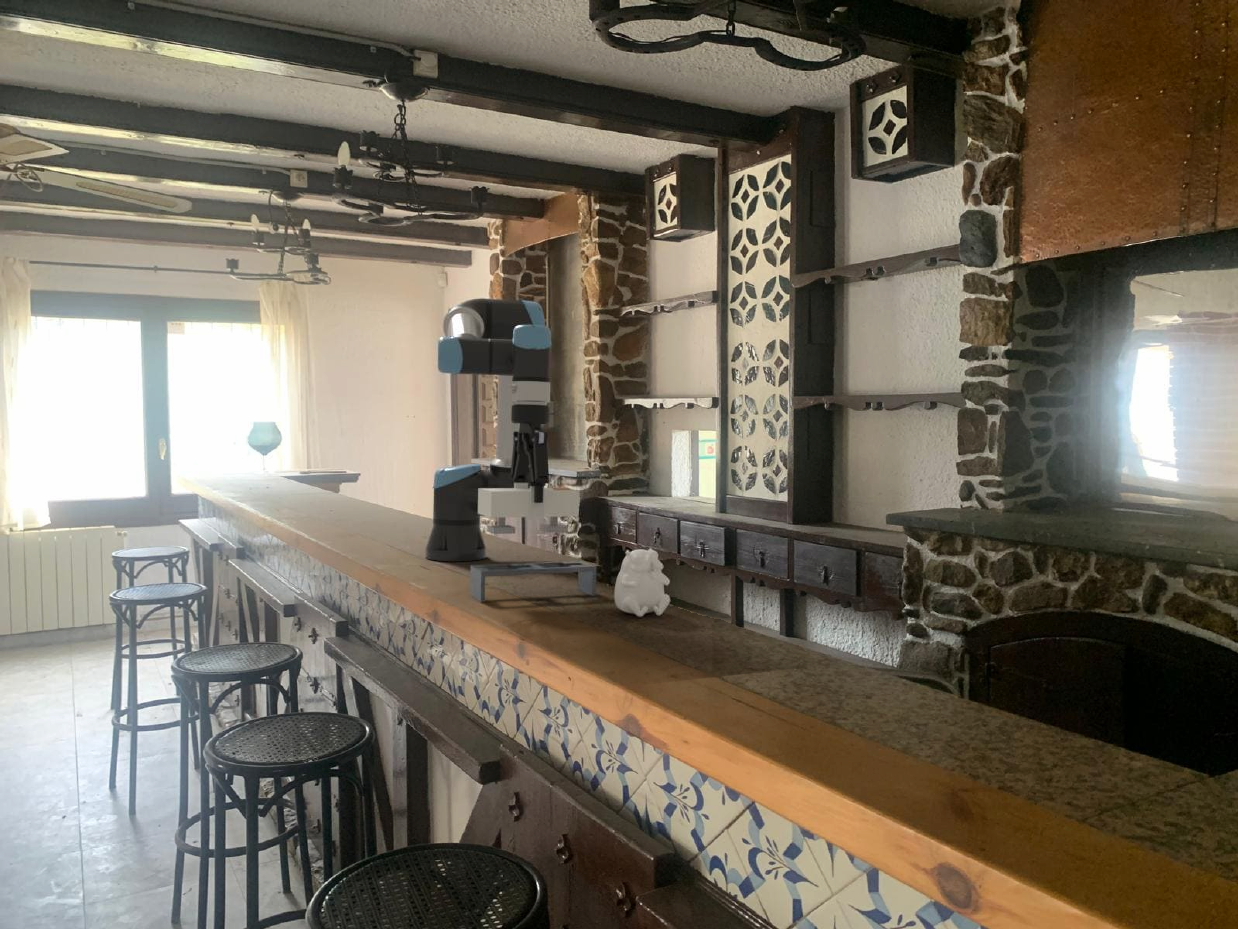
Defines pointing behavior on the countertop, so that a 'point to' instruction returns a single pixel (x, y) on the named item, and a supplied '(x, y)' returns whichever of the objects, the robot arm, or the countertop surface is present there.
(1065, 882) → the countertop surface
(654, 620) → the countertop surface
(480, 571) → the rail
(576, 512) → the white rectangular block
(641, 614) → the figurine
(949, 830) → the countertop surface
